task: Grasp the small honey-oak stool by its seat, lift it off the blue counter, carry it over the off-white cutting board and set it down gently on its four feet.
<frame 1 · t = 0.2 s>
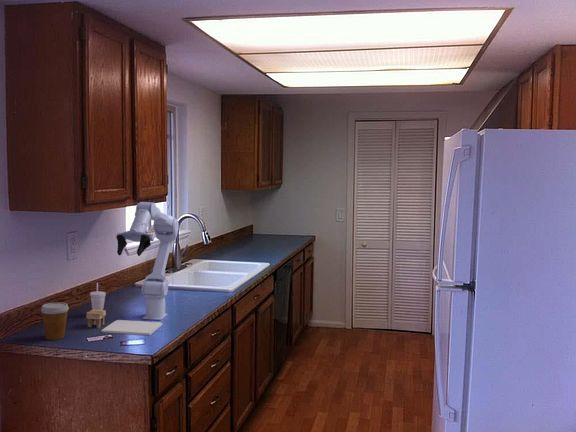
hand: (128, 254, 206), 31 cm above the counter, tool tilted 45°, fingers open, 7 cm apart
smoothie: (97, 315, 236), on the counter
stool: (96, 325, 221), on the counter
cutting board: (132, 328, 219), on the counter
disposable coffee cup: (55, 337, 205), on the counter
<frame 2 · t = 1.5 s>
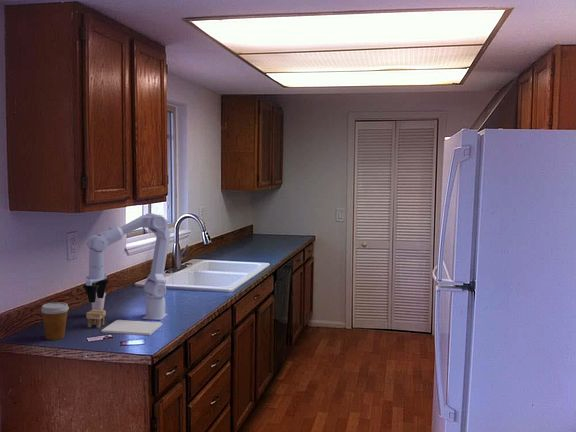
hand: (96, 300, 220), 10 cm above the counter, tool pointing down, fingers open, 7 cm apart
nothing on the counter moved.
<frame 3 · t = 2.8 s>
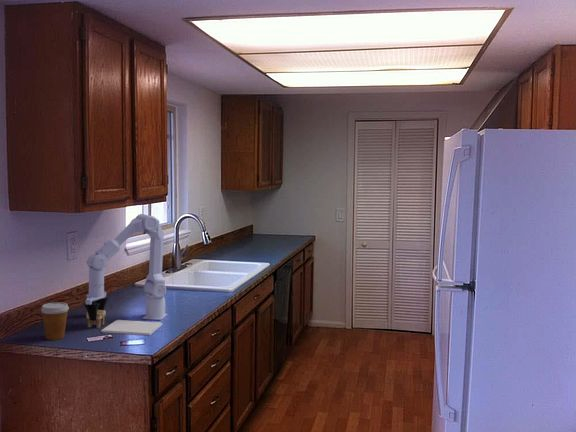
hand: (96, 318, 220), 3 cm above the counter, tool pointing down, fingers closed on stool, 5 cm apart
stool: (96, 325, 221), on the counter, touching gripper
everything else where it was.
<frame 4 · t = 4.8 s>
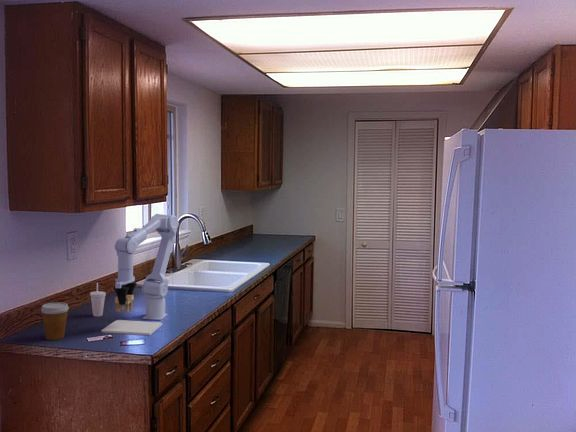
hand: (125, 302, 219), 10 cm above the counter, tool pointing down, fingers closed on stool, 5 cm apart
stool: (124, 310, 219), point 7 cm above the counter, touching gripper
everything else where it was.
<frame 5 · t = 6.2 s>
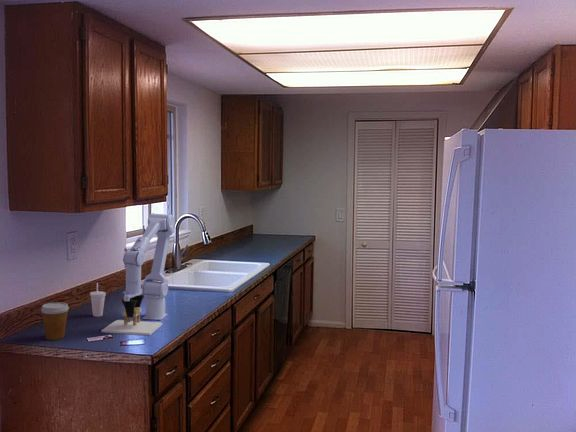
hand: (132, 315, 219), 5 cm above the counter, tool pointing down, fingers closed on stool, 5 cm apart
stool: (131, 323, 219), point 2 cm above the counter, touching gripper
everything else where it was.
when the fingers open (5 cm above the counter, at t = 7.3 s): stool stays where it is, resting on cutting board.
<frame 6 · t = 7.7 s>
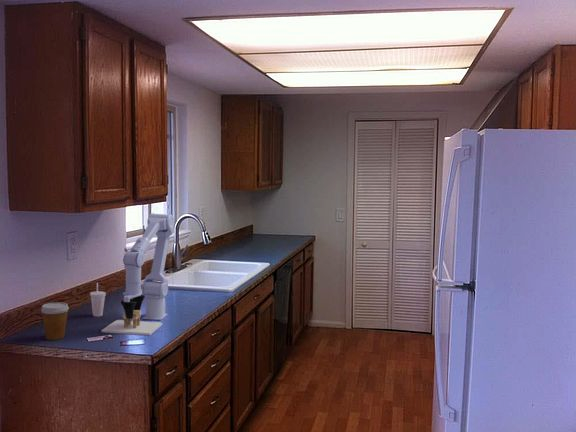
hand: (132, 316, 219), 5 cm above the counter, tool pointing down, fingers open, 7 cm apart
stool: (132, 326, 219), point 1 cm above the counter, touching cutting board
everything else where it was.
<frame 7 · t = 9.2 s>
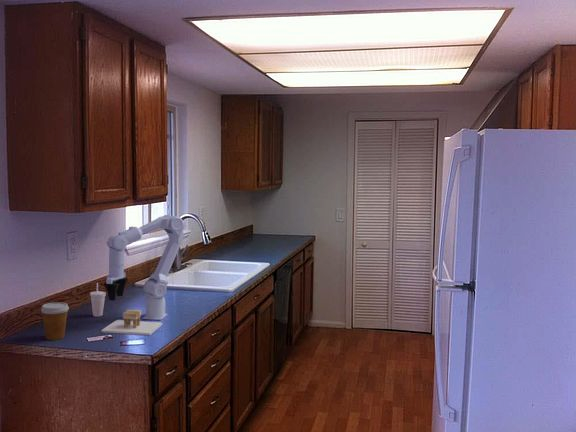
hand: (116, 298, 224), 10 cm above the counter, tool pointing down, fingers open, 7 cm apart
nothing on the counter moved.
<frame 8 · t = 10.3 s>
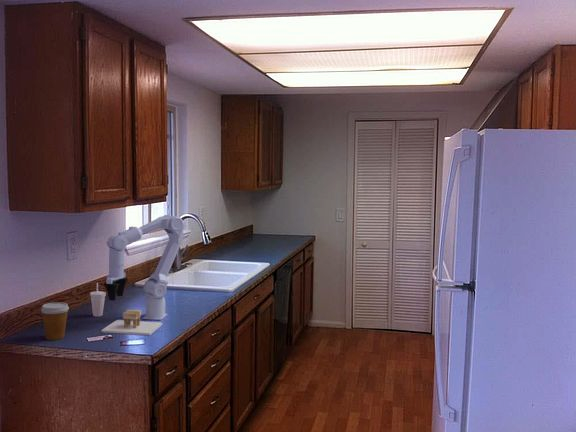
hand: (116, 298, 224), 10 cm above the counter, tool pointing down, fingers open, 7 cm apart
nothing on the counter moved.
at the end: stool inside the target area on the cutting board (0.3 cm from its centre), point 0.8 cm above the cutting board's base; stool tilted 0°; the gripper is holding nothing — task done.
